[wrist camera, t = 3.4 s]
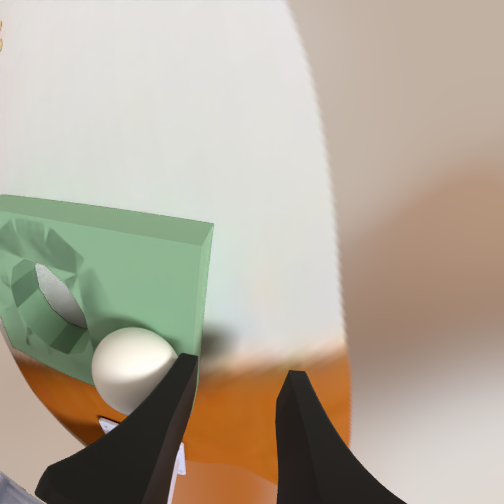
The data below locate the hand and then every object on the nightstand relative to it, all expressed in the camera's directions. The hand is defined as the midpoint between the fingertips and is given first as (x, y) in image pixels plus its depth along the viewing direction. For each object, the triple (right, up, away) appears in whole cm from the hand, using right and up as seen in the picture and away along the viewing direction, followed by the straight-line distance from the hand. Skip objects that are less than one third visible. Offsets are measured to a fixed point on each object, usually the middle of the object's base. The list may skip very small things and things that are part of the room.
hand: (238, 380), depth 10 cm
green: (-8, +3, +3) cm, 9 cm away
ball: (-4, 0, -1) cm, 4 cm away
